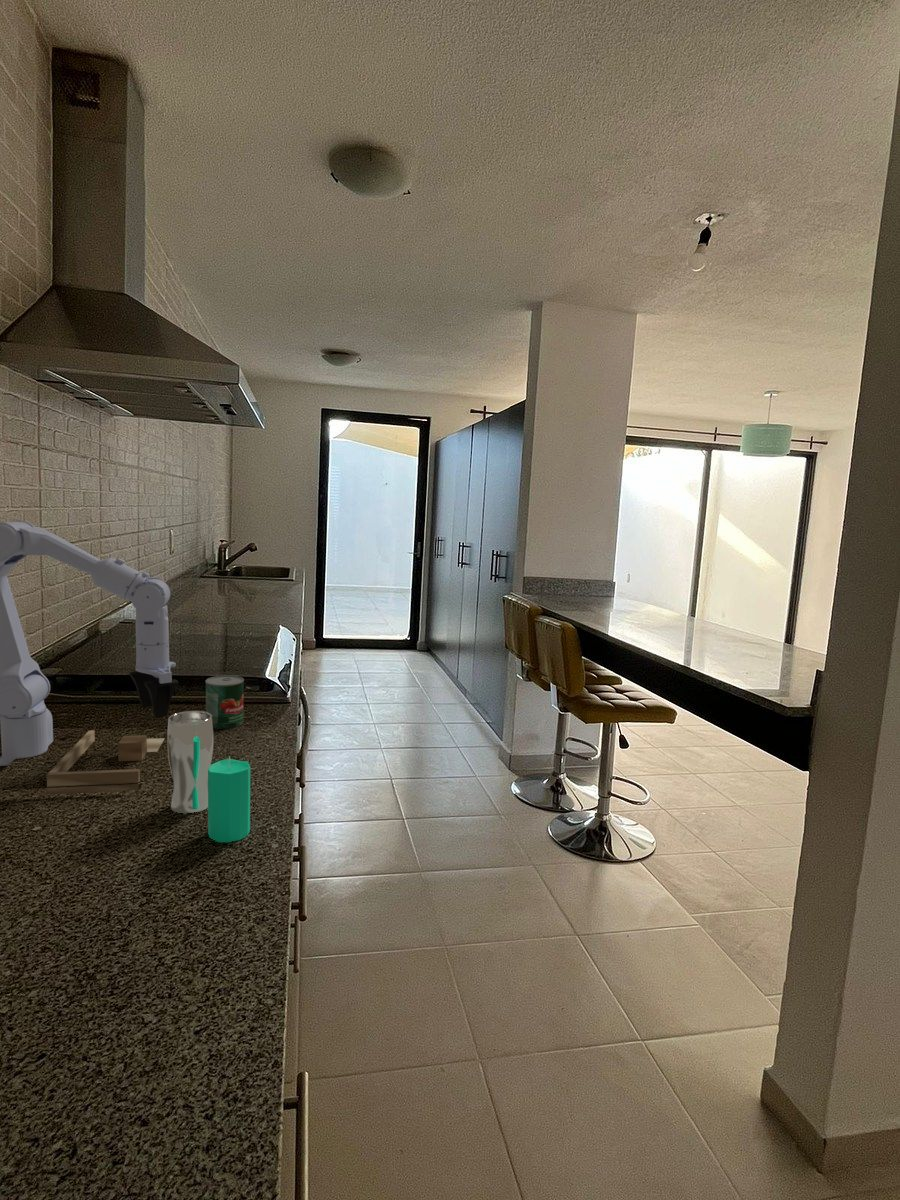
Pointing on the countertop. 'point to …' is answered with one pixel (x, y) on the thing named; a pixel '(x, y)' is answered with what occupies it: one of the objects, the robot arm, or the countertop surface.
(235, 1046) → the countertop surface
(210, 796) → the candle
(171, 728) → the beer glass
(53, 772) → the wooden flat frame
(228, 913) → the countertop surface
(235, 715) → the canned tomato
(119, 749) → the block
